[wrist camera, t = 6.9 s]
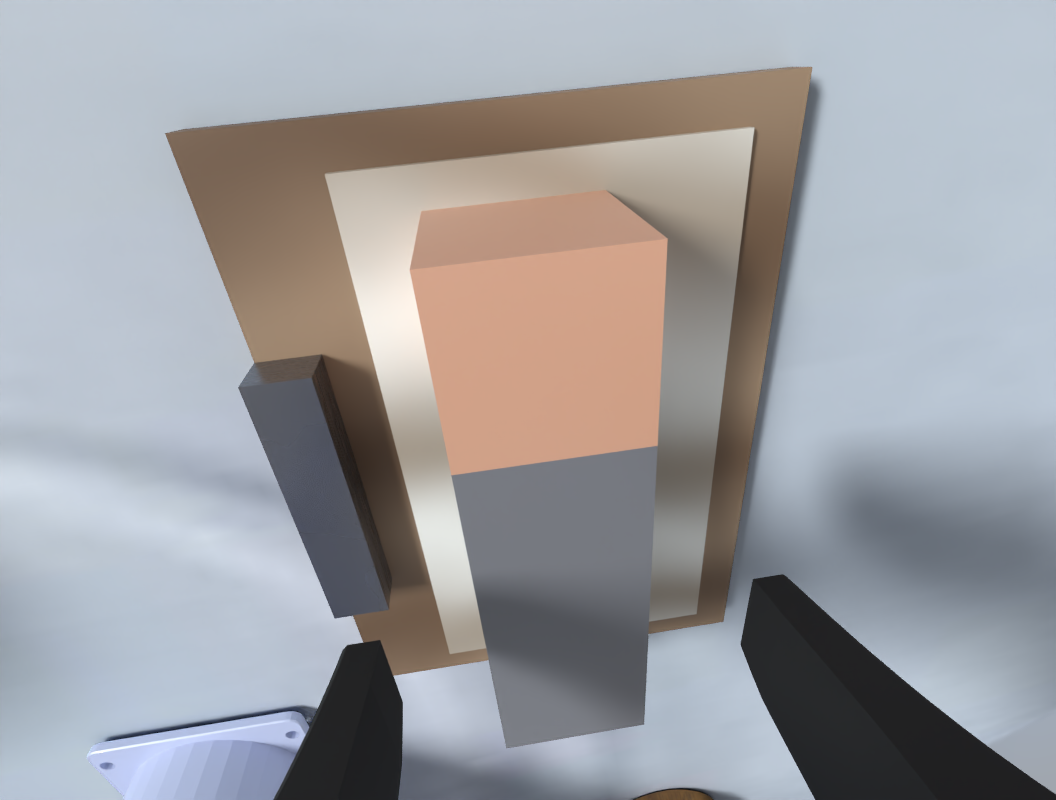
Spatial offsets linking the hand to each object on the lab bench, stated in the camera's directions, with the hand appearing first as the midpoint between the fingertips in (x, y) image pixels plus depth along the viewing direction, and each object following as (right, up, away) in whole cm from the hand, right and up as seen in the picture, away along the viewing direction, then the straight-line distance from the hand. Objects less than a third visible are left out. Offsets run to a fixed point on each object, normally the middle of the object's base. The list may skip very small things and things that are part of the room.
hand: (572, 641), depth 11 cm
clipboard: (-1, +3, +6) cm, 7 cm away
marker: (-1, +3, +5) cm, 6 cm away
